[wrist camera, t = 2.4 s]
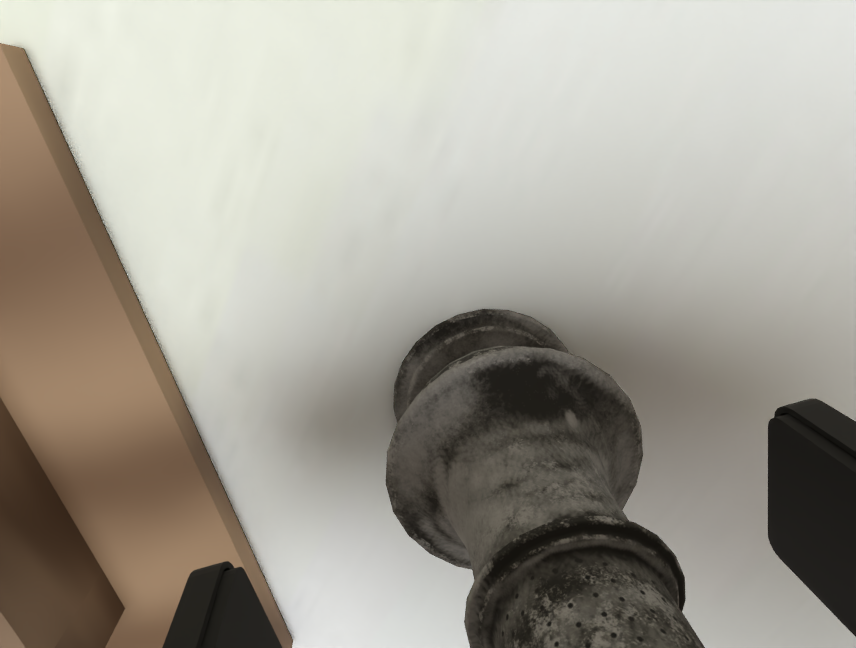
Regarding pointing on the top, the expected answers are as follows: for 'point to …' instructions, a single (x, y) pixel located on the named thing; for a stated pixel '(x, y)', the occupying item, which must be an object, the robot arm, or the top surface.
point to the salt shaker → (530, 489)
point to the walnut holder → (89, 419)
